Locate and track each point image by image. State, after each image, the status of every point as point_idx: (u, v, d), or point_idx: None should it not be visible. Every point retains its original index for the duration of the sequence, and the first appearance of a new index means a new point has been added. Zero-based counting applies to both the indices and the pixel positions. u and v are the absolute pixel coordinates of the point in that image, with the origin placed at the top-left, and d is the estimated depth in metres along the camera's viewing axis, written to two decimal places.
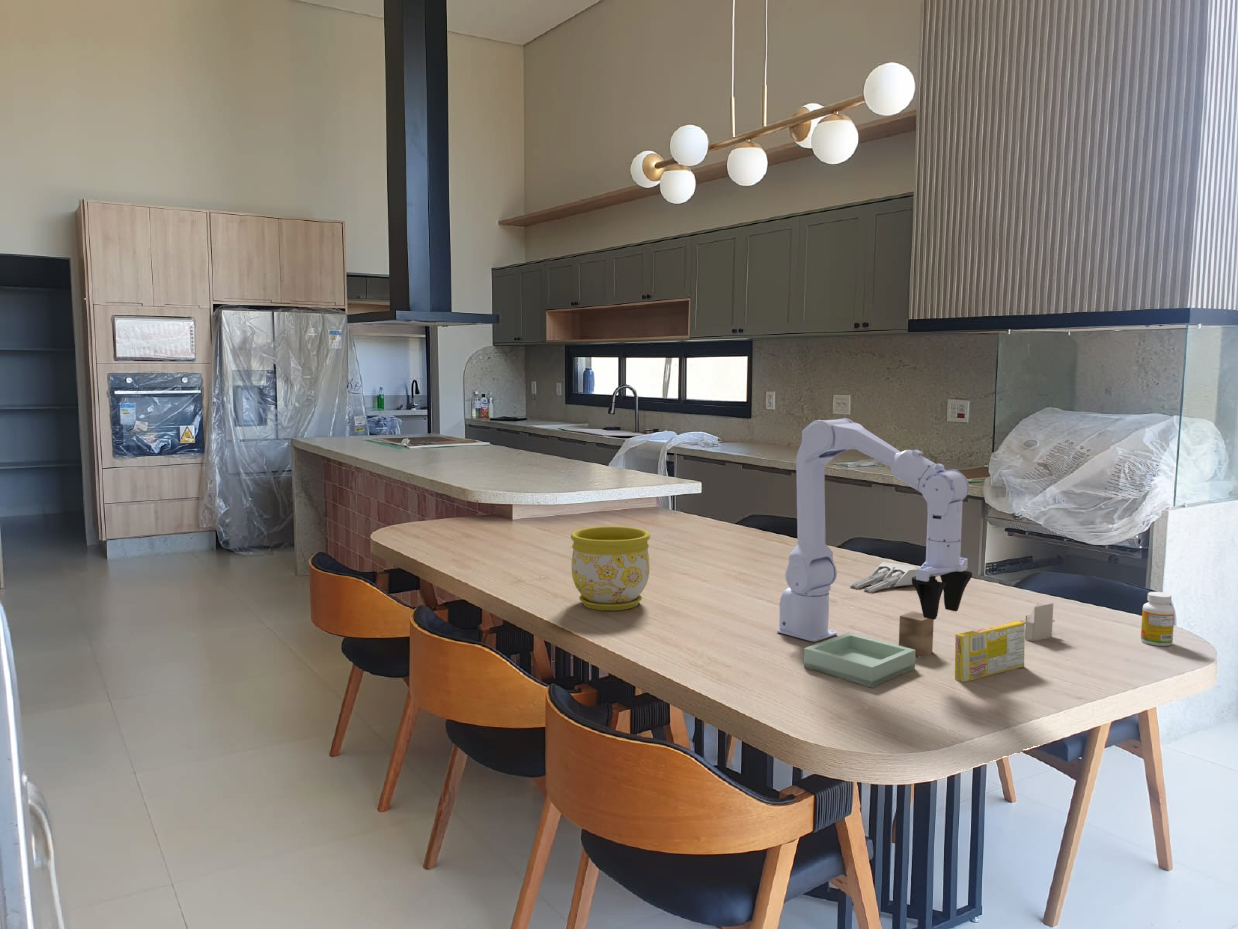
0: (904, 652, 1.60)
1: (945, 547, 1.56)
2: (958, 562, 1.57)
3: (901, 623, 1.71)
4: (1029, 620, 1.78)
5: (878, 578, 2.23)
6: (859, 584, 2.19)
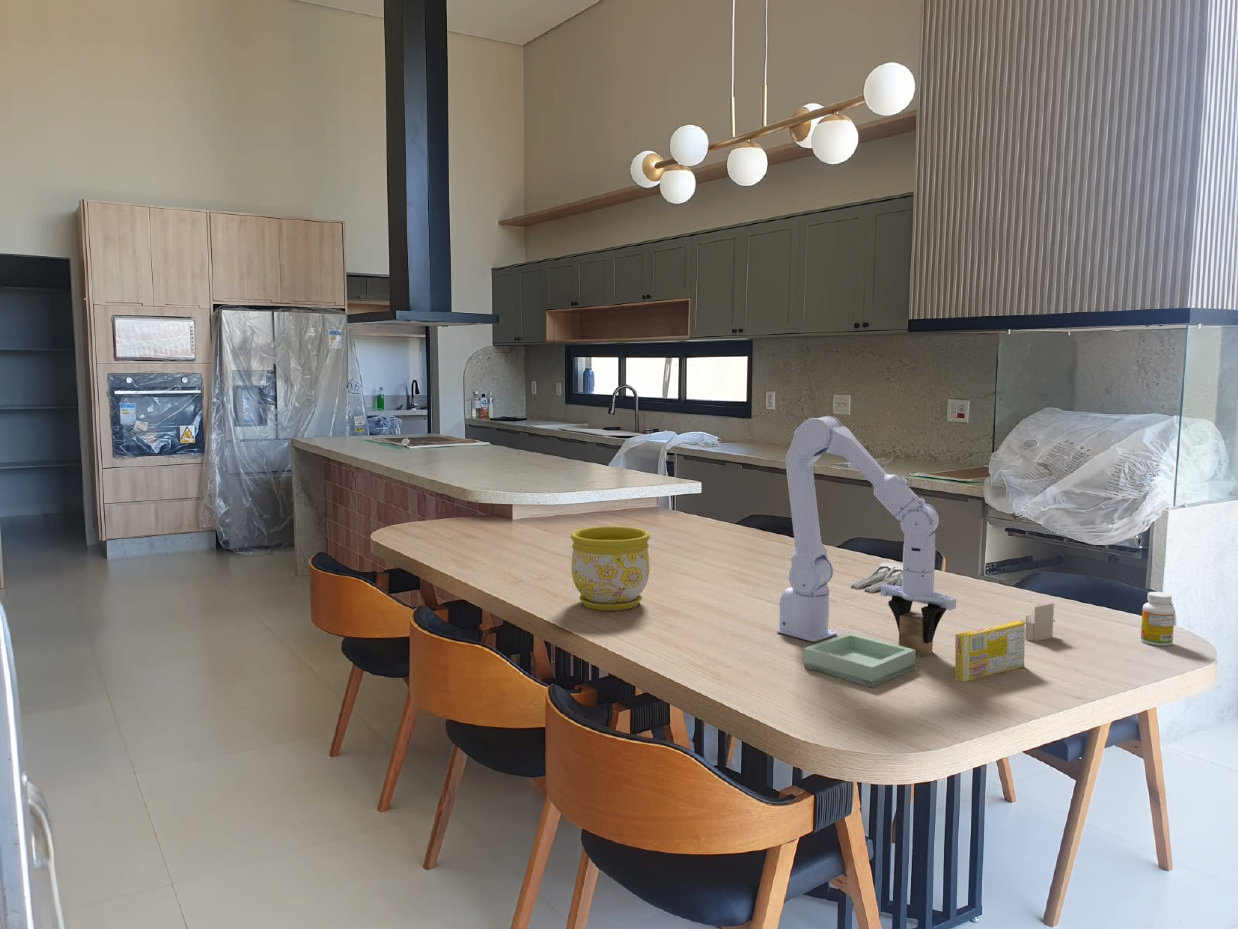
0: (904, 652, 1.60)
1: (902, 573, 1.70)
2: (910, 591, 1.68)
3: (901, 623, 1.71)
4: (1029, 620, 1.78)
5: (879, 578, 2.23)
6: (859, 584, 2.19)
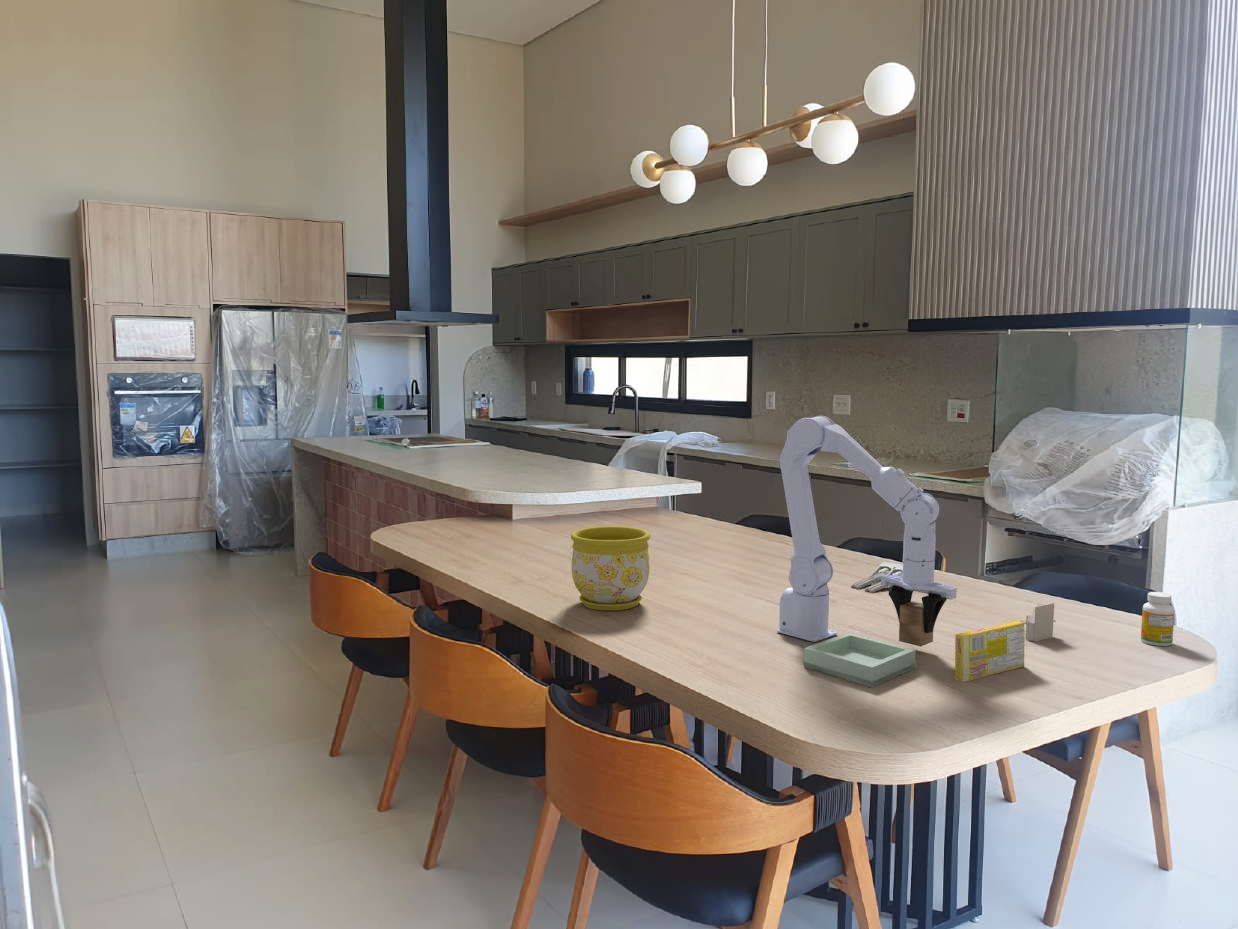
0: (904, 652, 1.60)
1: None
2: (911, 580, 1.68)
3: (901, 613, 1.70)
4: (1030, 620, 1.78)
5: (879, 578, 2.23)
6: (860, 584, 2.20)
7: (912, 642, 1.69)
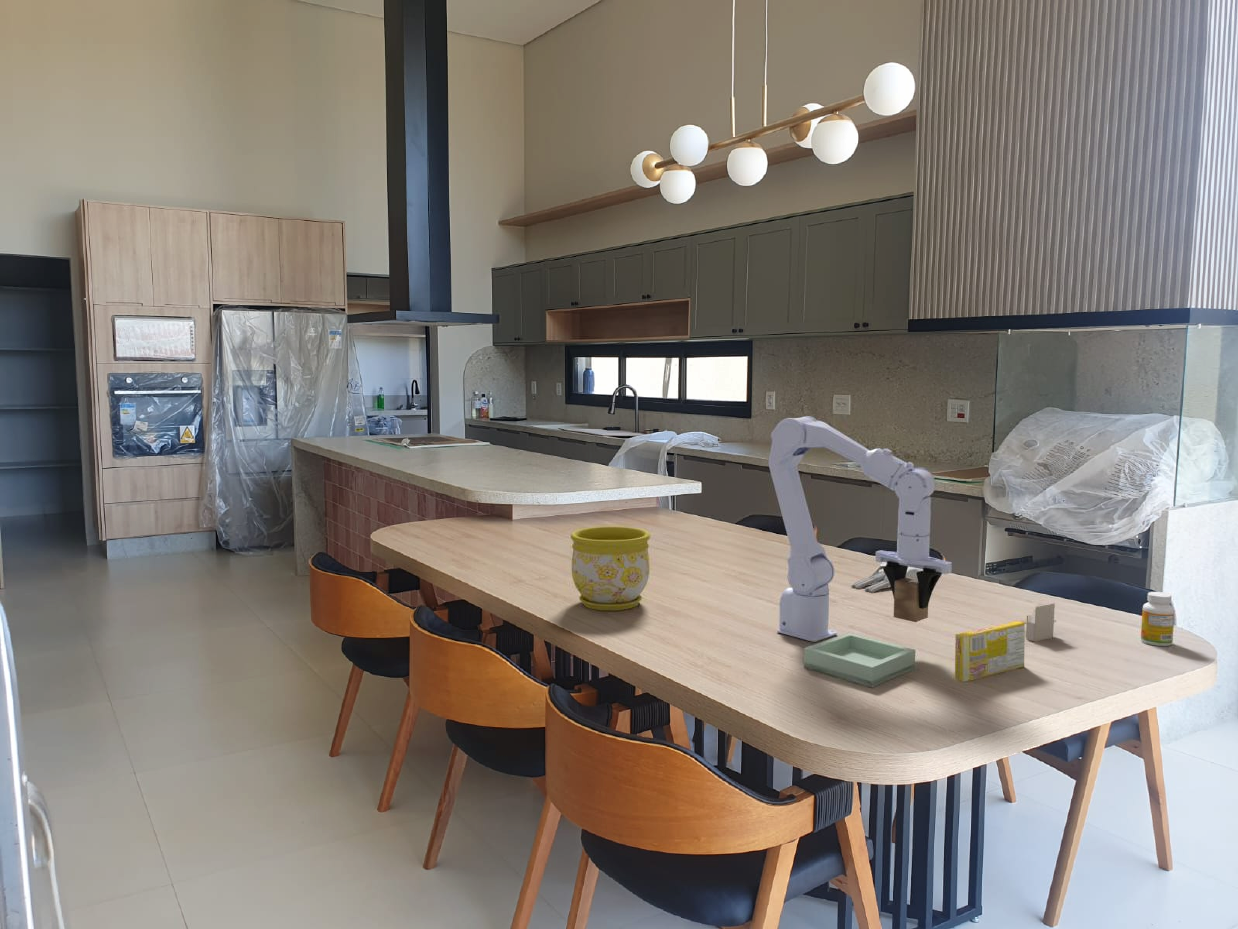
0: (904, 652, 1.60)
1: None
2: (905, 555, 1.66)
3: (896, 588, 1.69)
4: (1030, 620, 1.78)
5: (879, 577, 2.23)
6: (860, 584, 2.20)
7: (907, 618, 1.68)
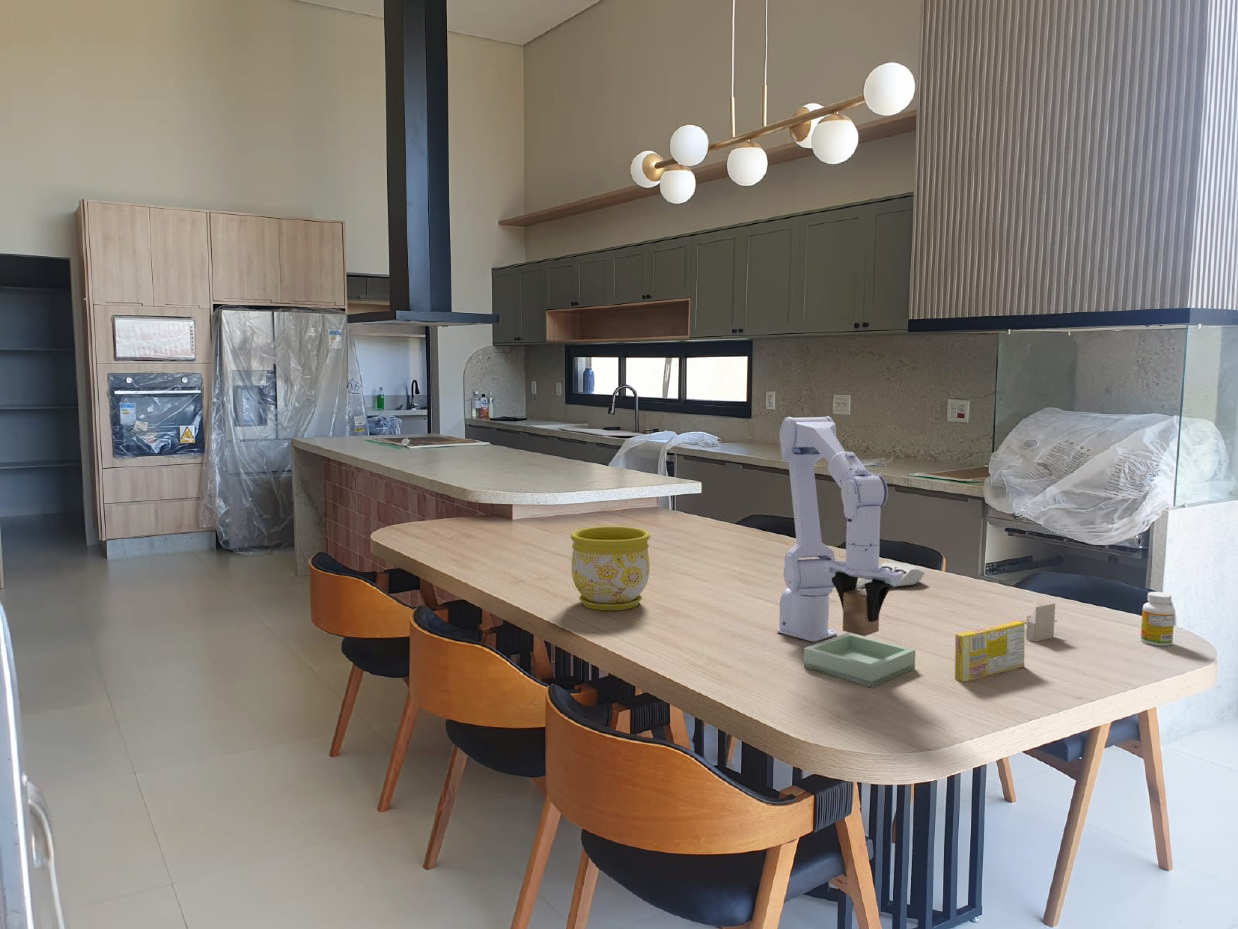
0: (904, 652, 1.60)
1: (846, 547, 1.60)
2: (854, 566, 1.58)
3: (845, 600, 1.61)
4: (1030, 620, 1.78)
5: None
6: (861, 584, 2.20)
7: (856, 631, 1.59)
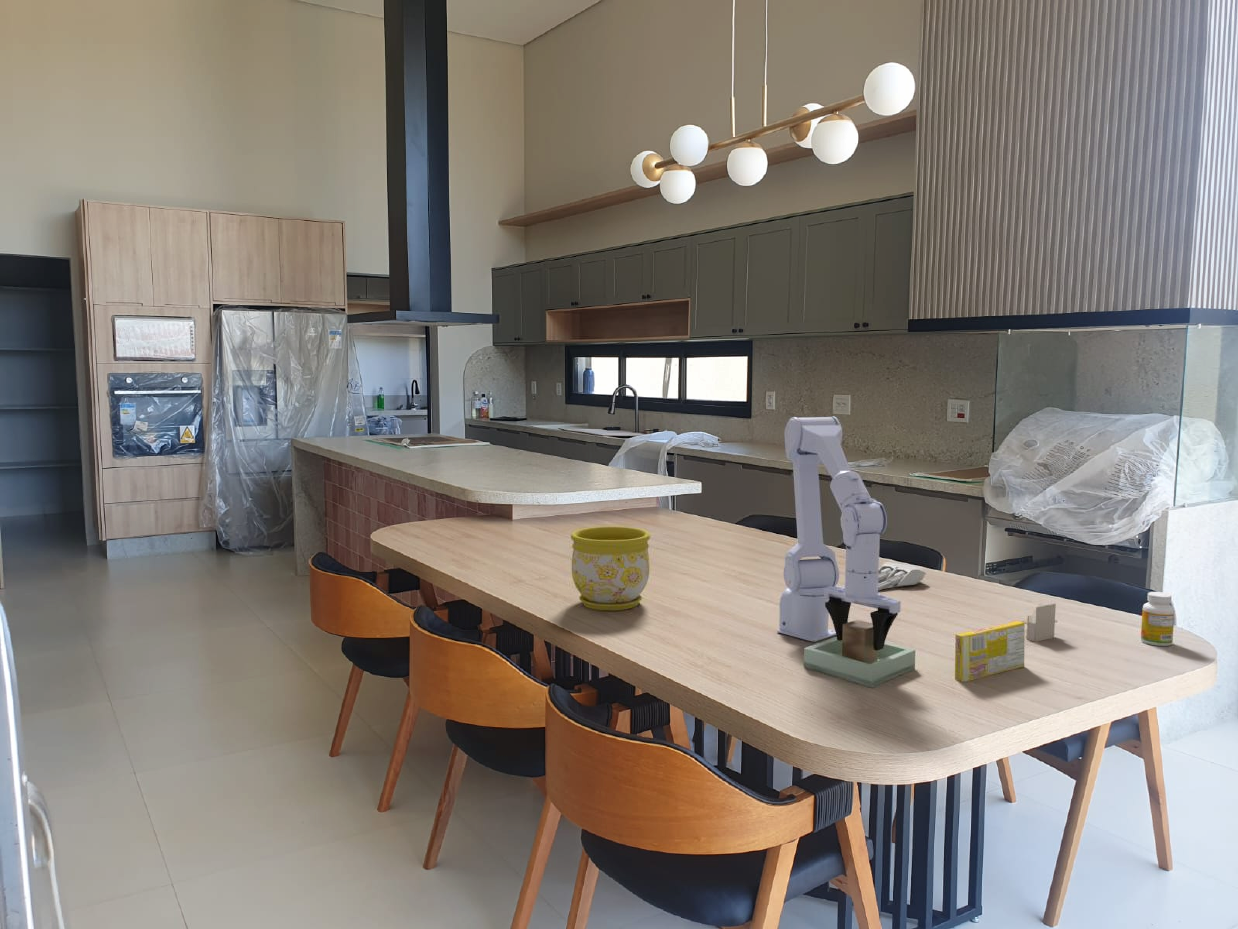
0: (904, 652, 1.60)
1: (845, 574, 1.61)
2: (853, 593, 1.59)
3: (844, 632, 1.61)
4: (1031, 620, 1.78)
5: (881, 578, 2.23)
6: None
7: None
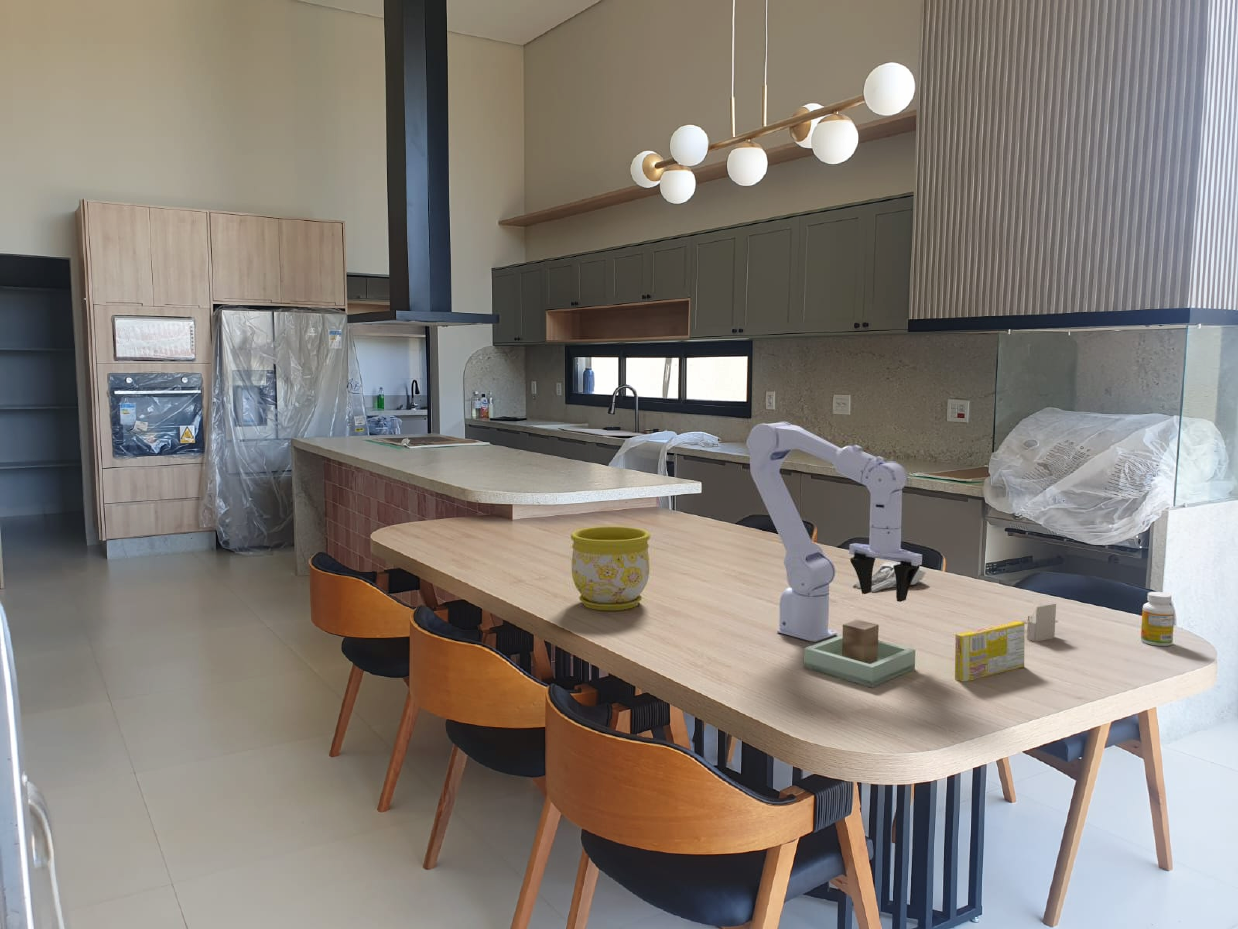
0: (904, 652, 1.60)
1: None
2: (877, 548, 1.68)
3: (844, 632, 1.61)
4: (1031, 620, 1.78)
5: (881, 577, 2.23)
6: None
7: None
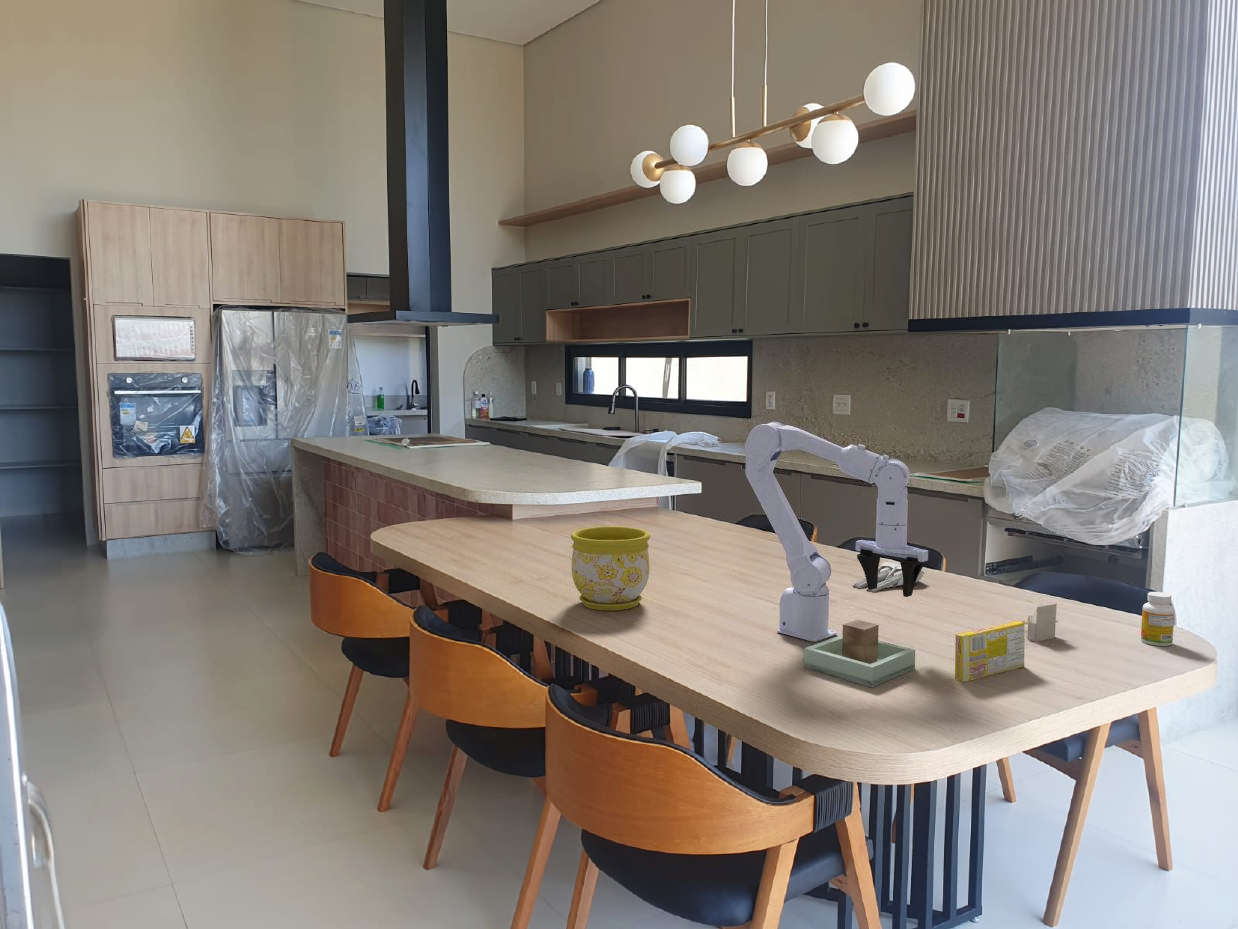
0: (904, 652, 1.60)
1: (876, 527, 1.74)
2: (884, 544, 1.71)
3: (844, 632, 1.61)
4: (1031, 620, 1.78)
5: (881, 577, 2.23)
6: (861, 583, 2.20)
7: None
